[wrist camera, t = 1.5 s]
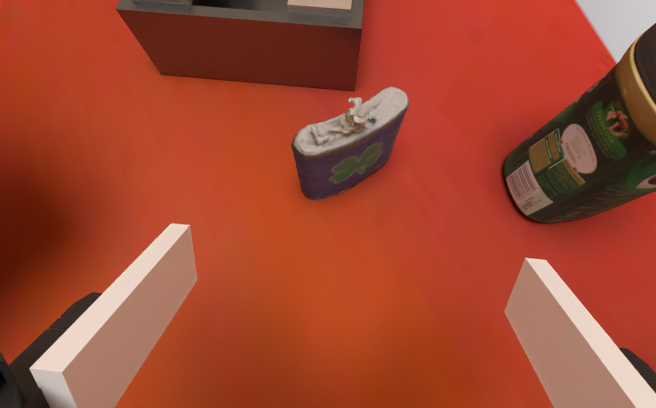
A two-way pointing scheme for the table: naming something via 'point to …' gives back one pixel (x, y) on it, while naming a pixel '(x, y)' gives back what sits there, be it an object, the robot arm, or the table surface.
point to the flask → (348, 144)
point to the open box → (251, 39)
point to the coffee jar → (593, 146)
